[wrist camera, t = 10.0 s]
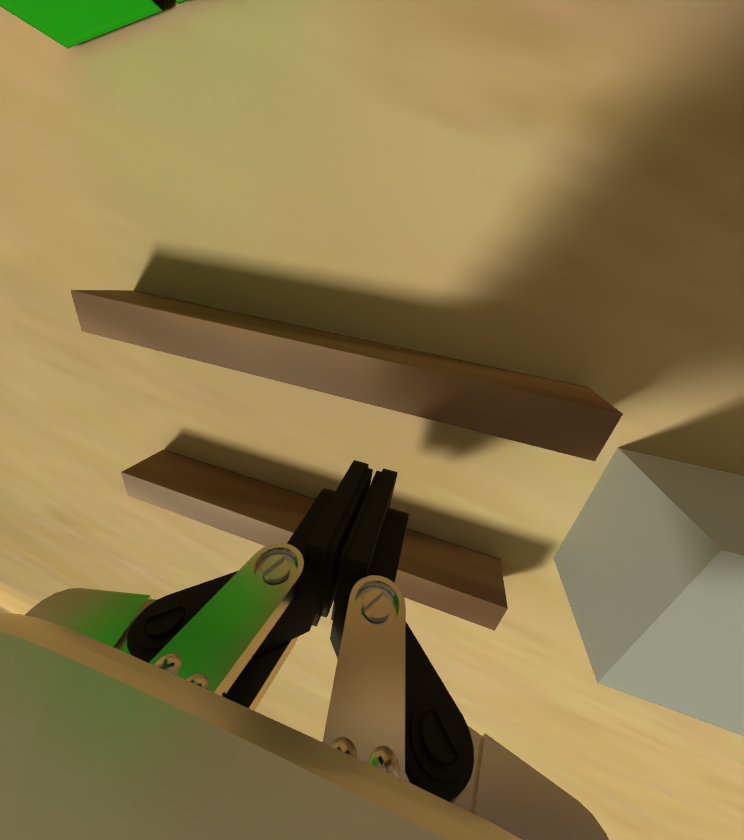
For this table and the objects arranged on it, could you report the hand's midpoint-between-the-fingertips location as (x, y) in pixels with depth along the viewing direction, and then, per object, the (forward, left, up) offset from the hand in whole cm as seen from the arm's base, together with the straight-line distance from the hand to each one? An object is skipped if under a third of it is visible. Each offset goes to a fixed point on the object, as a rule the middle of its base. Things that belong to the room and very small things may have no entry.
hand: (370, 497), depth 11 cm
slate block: (0, +11, -3) cm, 12 cm away
